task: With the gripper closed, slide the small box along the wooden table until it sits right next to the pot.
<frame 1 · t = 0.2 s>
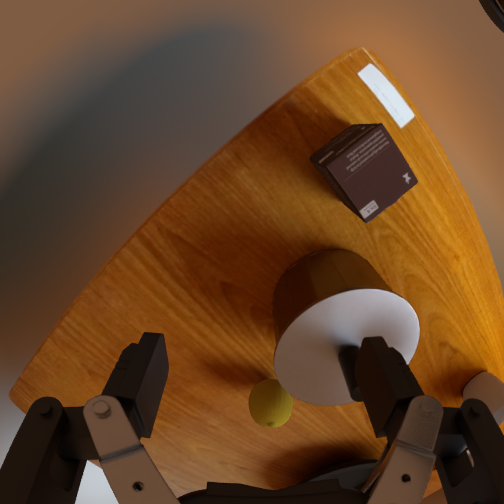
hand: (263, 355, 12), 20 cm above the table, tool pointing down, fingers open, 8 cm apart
pot lid: (349, 353, 25), point 9 cm above the table, touching pot
plate: (340, 471, 51), on the table
mug: (477, 386, 43), on the table
pot: (327, 300, 34), on the table
box: (347, 163, 29), on the table
lemon: (269, 380, 39), on the table
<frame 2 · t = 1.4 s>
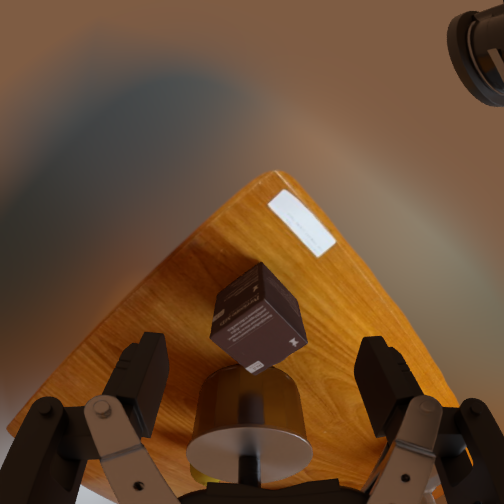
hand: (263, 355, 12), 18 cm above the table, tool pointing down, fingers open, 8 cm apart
pot lid: (249, 457, 28), point 9 cm above the table, touching pot
mug: (423, 445, 45), on the table
pot: (249, 397, 37), on the table
box: (257, 296, 31), on the table
mushroom: (415, 493, 58), on the table
lemon: (210, 444, 41), on the table
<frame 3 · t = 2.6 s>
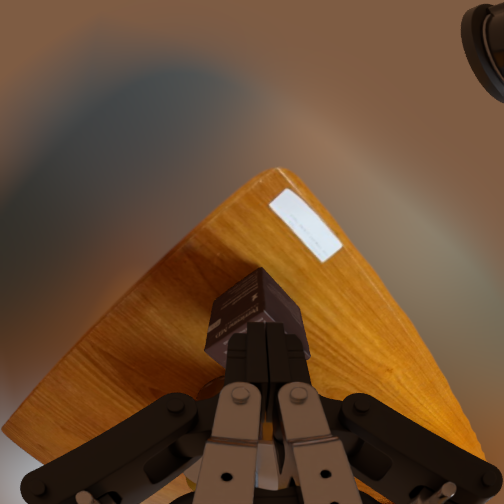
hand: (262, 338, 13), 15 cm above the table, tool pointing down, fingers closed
pot lid: (246, 470, 26), point 9 cm above the table, touching pot
pot: (247, 407, 35), on the table
box: (256, 303, 29), on the table
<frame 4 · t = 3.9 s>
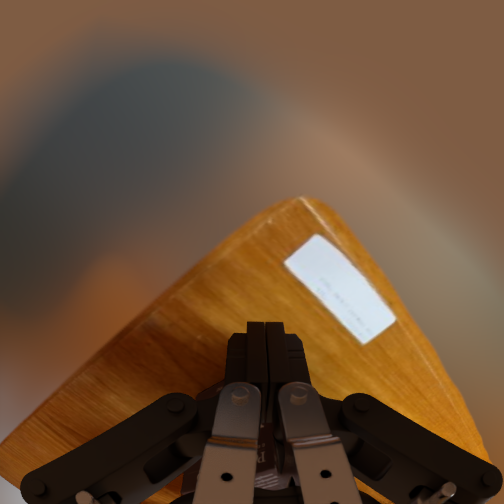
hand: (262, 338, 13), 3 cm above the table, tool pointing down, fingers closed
box: (260, 397, 18), on the table
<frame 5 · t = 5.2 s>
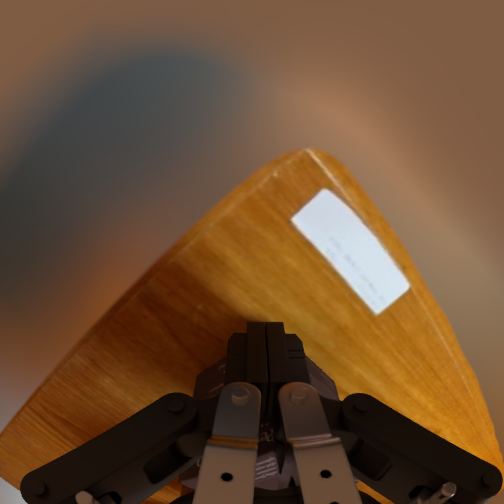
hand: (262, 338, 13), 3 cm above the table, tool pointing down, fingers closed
box: (266, 377, 17), on the table, touching gripper
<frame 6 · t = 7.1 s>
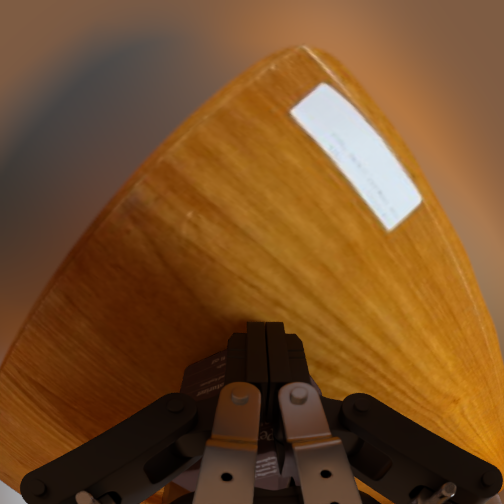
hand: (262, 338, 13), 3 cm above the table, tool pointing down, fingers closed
pot: (249, 465, 21), on the table
box: (255, 378, 17), on the table, touching gripper
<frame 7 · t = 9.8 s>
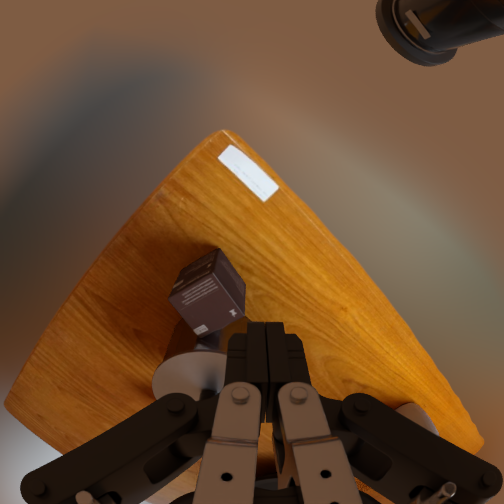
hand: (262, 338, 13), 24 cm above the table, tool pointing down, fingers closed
pot lid: (210, 393, 33), point 9 cm above the table, touching pot
plate: (280, 481, 58), on the table
mug: (406, 414, 49), on the table
pot: (217, 345, 41), on the table
box: (213, 276, 38), on the table
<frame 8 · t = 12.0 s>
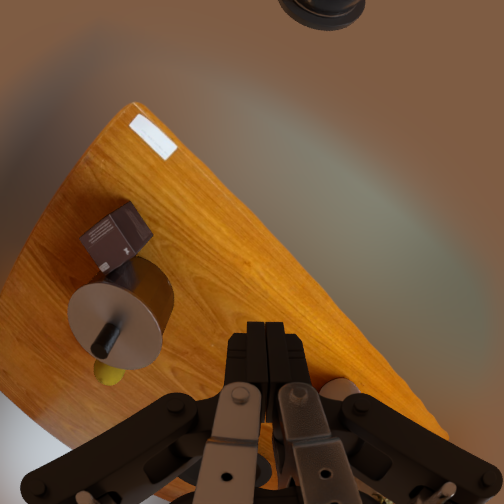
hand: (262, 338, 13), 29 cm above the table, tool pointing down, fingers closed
pot lid: (113, 328, 36), point 9 cm above the table, touching pot
plate: (220, 453, 62), on the table
mug: (341, 392, 53), on the table
pot: (135, 293, 45), on the table
box: (127, 227, 41), on the table
mushroom: (361, 463, 66), on the table
lemon: (117, 352, 50), on the table
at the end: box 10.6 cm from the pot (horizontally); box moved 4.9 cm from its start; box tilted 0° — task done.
